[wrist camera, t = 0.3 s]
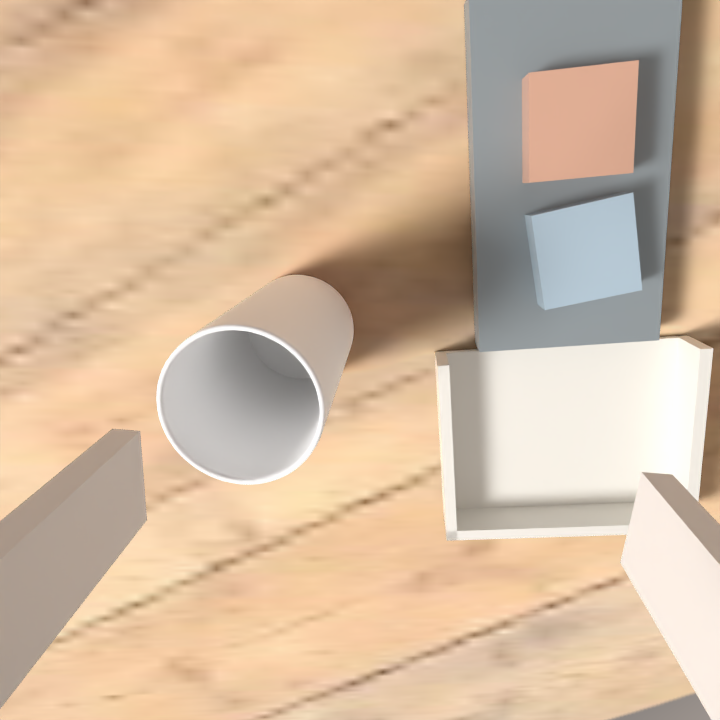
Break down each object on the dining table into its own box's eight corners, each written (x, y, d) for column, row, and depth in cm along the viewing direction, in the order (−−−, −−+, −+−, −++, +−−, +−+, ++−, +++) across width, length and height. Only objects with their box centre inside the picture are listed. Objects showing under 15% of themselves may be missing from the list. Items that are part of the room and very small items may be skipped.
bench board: (464, 5, 34) (468, -9, 32) (664, -21, 33) (684, -37, 31) (475, 342, 41) (479, 352, 38) (643, 331, 39) (659, 340, 37)
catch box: (434, 351, 41) (437, 366, 38) (687, 335, 39) (713, 348, 36) (443, 514, 45) (446, 540, 42) (672, 506, 43) (695, 532, 40)
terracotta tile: (521, 79, 33) (528, 72, 31) (625, 67, 32) (638, 60, 31) (522, 183, 35) (529, 182, 33) (620, 173, 34) (633, 172, 32)
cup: (367, 293, 40) (345, 355, 25) (337, 393, 43) (300, 505, 27) (259, 260, 40) (171, 302, 25) (236, 362, 43) (142, 458, 27)
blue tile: (524, 214, 35) (531, 215, 33) (620, 192, 34) (633, 192, 33) (537, 304, 37) (544, 310, 35) (629, 284, 36) (642, 290, 34)
